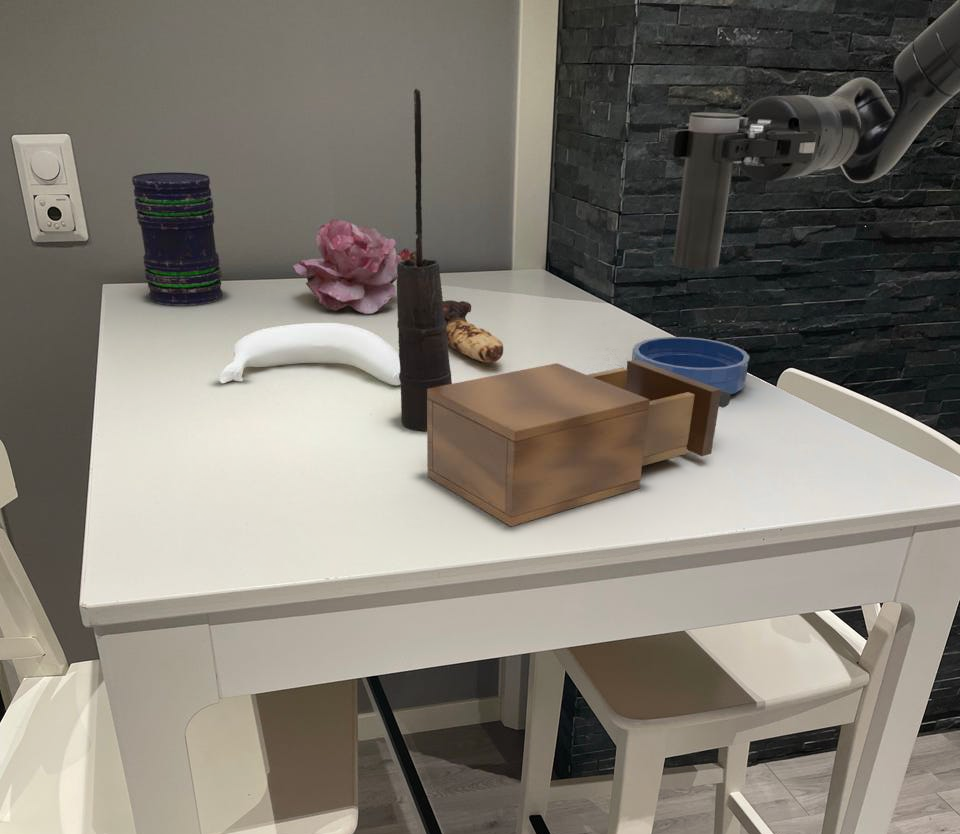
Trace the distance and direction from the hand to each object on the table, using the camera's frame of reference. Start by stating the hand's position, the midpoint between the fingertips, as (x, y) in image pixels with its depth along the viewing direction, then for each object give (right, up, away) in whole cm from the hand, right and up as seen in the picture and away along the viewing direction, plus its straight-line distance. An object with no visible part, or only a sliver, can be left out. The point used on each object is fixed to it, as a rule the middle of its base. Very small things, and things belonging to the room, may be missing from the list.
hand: (695, 146), depth 88 cm
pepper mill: (+2, -8, +7) cm, 11 cm away
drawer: (-5, -27, -1) cm, 28 cm away
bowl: (+3, -17, +18) cm, 25 cm away
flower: (-37, +1, +45) cm, 58 cm away
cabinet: (-15, -31, -6) cm, 35 cm away
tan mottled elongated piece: (-23, -11, +26) cm, 36 cm away
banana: (-37, -17, +17) cm, 44 cm away
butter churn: (-25, -23, +7) cm, 35 cm away
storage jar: (-60, +2, +45) cm, 75 cm away
